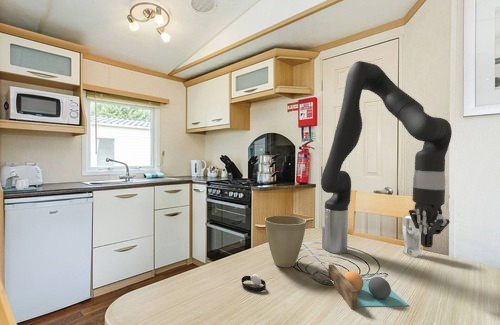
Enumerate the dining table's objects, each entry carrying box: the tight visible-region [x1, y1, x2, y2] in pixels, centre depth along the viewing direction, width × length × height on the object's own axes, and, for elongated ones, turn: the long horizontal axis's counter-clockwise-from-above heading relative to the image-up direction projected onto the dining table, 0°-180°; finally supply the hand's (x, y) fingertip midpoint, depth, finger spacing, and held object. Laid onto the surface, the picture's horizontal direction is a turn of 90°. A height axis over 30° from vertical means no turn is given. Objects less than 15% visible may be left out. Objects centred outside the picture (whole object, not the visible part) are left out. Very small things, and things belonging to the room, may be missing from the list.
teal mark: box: [357, 281, 410, 308], centre depth 71 cm, size 14×14×1 cm
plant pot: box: [264, 214, 307, 268], centre depth 90 cm, size 15×15×16 cm
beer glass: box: [401, 215, 422, 258], centre depth 100 cm, size 7×7×15 cm
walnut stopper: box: [327, 264, 358, 310], centre depth 70 cm, size 16×2×4 cm, turn 3°
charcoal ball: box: [368, 276, 392, 299], centre depth 68 cm, size 6×6×6 cm
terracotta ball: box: [343, 270, 364, 292], centre depth 71 cm, size 6×6×6 cm
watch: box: [241, 274, 267, 293], centre depth 72 cm, size 8×5×4 cm, turn 60°
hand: (426, 246), depth 72 cm, fingers closed
